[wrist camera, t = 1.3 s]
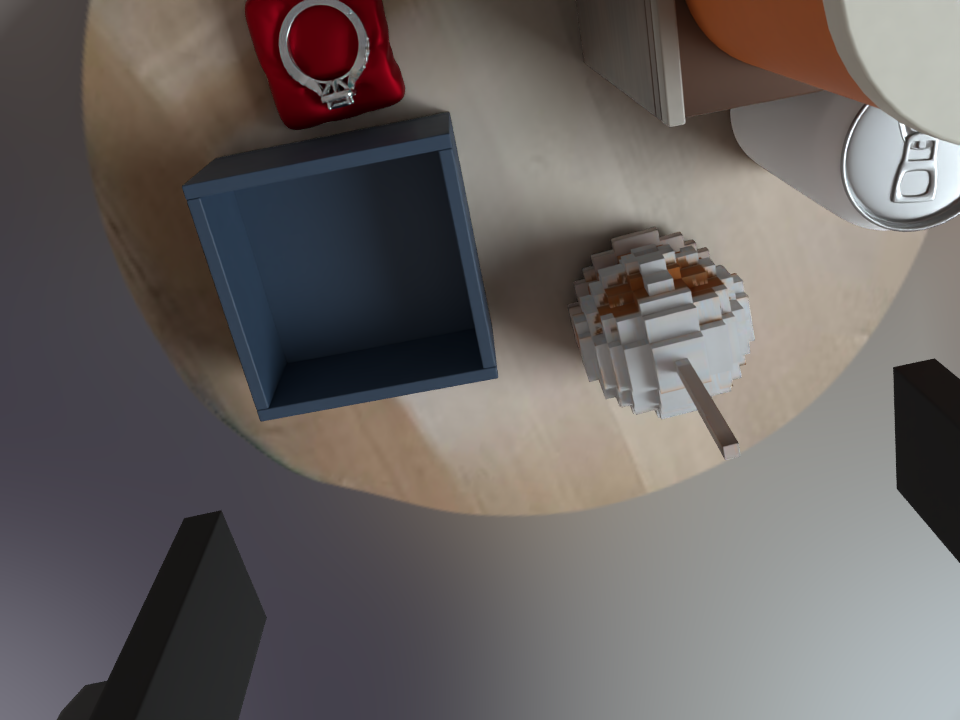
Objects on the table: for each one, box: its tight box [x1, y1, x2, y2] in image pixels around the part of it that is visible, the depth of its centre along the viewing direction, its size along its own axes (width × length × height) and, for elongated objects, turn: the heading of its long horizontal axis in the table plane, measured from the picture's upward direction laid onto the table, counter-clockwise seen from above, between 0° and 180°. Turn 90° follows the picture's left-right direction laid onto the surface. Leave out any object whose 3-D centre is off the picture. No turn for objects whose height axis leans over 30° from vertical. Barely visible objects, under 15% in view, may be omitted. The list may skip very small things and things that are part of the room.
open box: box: [182, 112, 498, 421], centre depth 40 cm, size 11×11×6 cm
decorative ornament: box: [568, 227, 755, 460], centre depth 38 cm, size 8×8×15 cm
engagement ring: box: [245, 0, 405, 130], centre depth 38 cm, size 6×6×3 cm
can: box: [730, 90, 960, 232], centre depth 35 cm, size 6×6×12 cm
